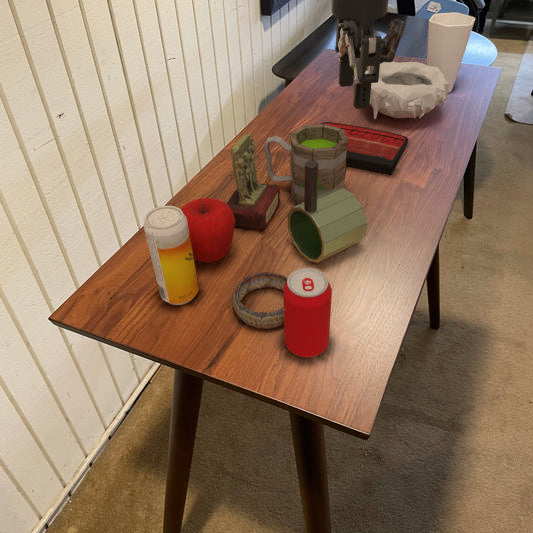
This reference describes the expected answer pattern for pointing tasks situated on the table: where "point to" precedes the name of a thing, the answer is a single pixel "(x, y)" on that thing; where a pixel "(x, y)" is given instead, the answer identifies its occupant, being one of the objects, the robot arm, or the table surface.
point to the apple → (209, 228)
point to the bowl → (407, 89)
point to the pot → (325, 219)
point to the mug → (313, 158)
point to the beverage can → (307, 312)
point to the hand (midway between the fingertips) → (353, 96)
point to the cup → (448, 43)
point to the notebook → (372, 148)
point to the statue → (391, 41)
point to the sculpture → (250, 189)
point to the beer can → (171, 254)
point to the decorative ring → (253, 284)
